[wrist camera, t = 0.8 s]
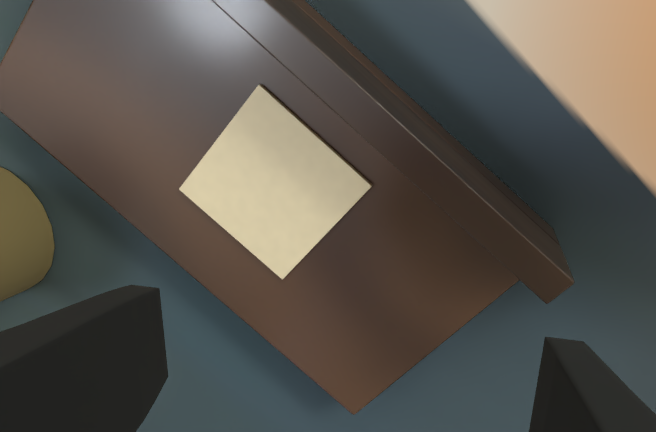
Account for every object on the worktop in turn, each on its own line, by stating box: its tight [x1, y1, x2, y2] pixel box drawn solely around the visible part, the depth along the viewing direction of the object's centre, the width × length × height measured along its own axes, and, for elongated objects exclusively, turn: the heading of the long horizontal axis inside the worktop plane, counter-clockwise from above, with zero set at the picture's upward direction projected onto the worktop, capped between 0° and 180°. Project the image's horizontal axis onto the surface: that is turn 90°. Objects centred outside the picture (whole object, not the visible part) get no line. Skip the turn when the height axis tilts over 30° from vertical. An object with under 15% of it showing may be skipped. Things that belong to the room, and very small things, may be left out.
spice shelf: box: [0, 0, 574, 415], centre depth 19 cm, size 10×18×4 cm, turn 50°
